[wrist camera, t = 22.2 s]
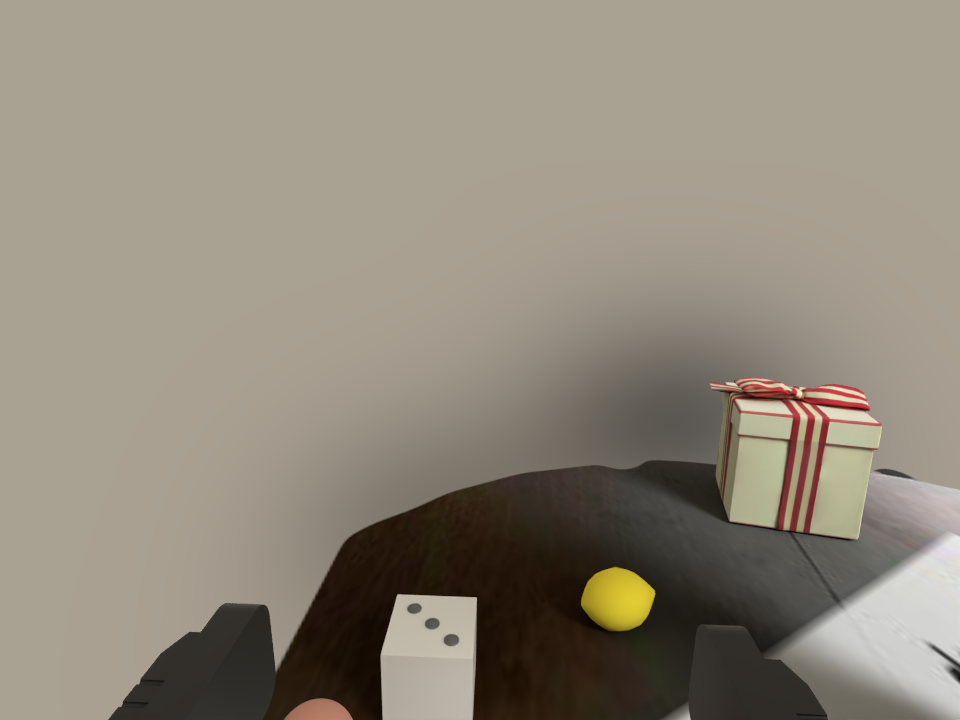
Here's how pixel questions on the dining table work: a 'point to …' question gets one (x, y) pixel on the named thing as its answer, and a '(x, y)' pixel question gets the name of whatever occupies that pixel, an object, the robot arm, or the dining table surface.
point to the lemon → (617, 599)
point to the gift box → (795, 456)
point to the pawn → (319, 711)
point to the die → (429, 659)
